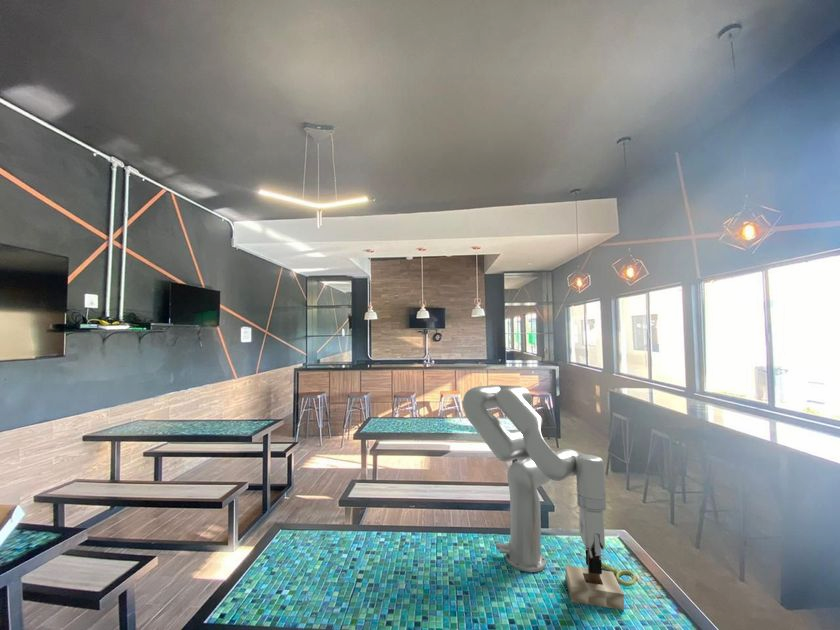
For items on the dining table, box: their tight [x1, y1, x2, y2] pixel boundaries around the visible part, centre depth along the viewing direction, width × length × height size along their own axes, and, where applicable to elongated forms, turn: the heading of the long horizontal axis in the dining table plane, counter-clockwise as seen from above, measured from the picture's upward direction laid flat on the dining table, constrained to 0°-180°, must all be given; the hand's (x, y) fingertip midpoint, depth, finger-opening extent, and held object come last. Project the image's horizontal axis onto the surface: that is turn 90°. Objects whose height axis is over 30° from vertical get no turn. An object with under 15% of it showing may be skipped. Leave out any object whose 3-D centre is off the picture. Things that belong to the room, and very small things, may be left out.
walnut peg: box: [586, 544, 600, 584], centre depth 104 cm, size 3×3×10 cm
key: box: [601, 561, 637, 586], centre depth 113 cm, size 7×12×2 cm, turn 57°
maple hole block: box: [564, 564, 625, 611], centre depth 104 cm, size 13×10×4 cm
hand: (593, 568), depth 104 cm, fingers closed on walnut peg, 3 cm apart
